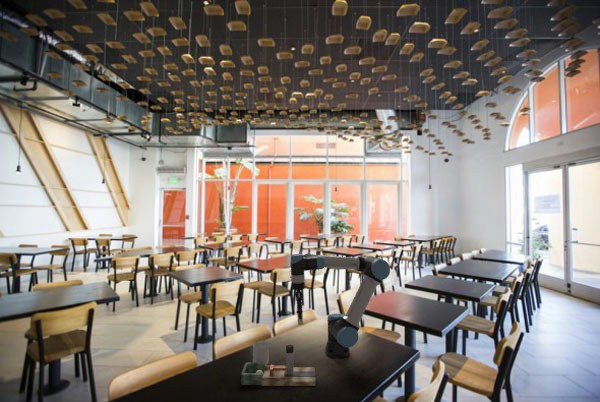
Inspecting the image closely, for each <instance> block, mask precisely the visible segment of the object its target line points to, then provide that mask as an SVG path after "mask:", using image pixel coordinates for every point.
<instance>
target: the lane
mask: <svg viewBox="0 0 600 402" xmlns="http://www.w3.org/2000/svg"><path fill="white" fill-rule="evenodd" d="M270 366H271V364H270V365H269V364H267V365H265V362H253V361H252V362H245V363H244V366H243V368H242V370H241V372H240V386H261V387H262V386H263V387H265V386H266V387H267V386H268V387H277V386H280V387H284V386H285V387H286V386H287V387H289V386H290V387H291V386H293V387H294V386H295V387H297V386H298V387H299V386H300V387H301V386H303V387H307V386H308V387H311V386H312V387H315V386H316V384H317V383H316V382H317V381H316V370H315V367H310V366H308V367H307V366H306V367H302V366H299V367H297V366H295V367H294V372H293V375H286V371H274V372H273V376H270ZM274 366H286V365H284V364H283V365H281V364H280V365H276V364H274ZM257 370H262V372H263V376H262V373H256V371H257Z"/></svg>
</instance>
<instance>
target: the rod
mask: <svg viewBox="0 0 600 402" xmlns="http://www.w3.org/2000/svg"><path fill="white" fill-rule="evenodd" d="M294 349H295V348H294V345H292V344H288V345H286V346H285V356H286V357H285V359H286V361H285V364H286V366H274V365H275V364H270V365H271V366H270V376H273V372H274V371H286V375H293V372H294Z"/></svg>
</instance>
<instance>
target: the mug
mask: <svg viewBox="0 0 600 402" xmlns="http://www.w3.org/2000/svg"><path fill="white" fill-rule="evenodd" d="M269 349H270V348H269V343H268V342H266V341H257V342H254V343H253V345H252V362H265V365H269V362H270V361H269V357H270V356H269V354H270V353H269Z"/></svg>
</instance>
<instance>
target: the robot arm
mask: <svg viewBox="0 0 600 402" xmlns="http://www.w3.org/2000/svg"><path fill="white" fill-rule="evenodd" d="M289 261H290V262H289V263H290V274H291V275H290V277H289V278H290V279H291V289H292V290H293V291H295V292H294V294H295V295H294V296H295V302H296V311H295V313H296V316H297V326H301V325H304V316H303V292H302V290H303V291H304V290H305V289H306V283H305V278H306V277H305V271H315V270H318V271H319V270H323V269H324V268H325V269H327V268H328V269H340V270H351V271H352V270H353V271H354V272H360V273H362V276H363V279H362V281H361V283H360V285H359V287H358V289H357V290H356V293H355V295H354V297H353V299H352V301H351V304H350V305H349V307H348V309H347V311H346V314H345V313H330V314H328V315H327V320H326V321H327V341H326V345H325V349H324V350H325V351H324V352H325V355H326V356H328V357H331V358H335V359H342V358H343V359H344V358H348V357H349V356H350V355H351V353H350V352H351V350H350V348H351V347H354V346H355V345H356V344H357V342H358V341H359V330H360V328H361V326H360V322H361V319H362V317H363V315H364V313H365V312H366V309H367V307H368V306H369V303H370V301H371V298H372V297H373V296H374V295H373V294H374V293H375V291H376V288H377V286H379V285H380V286H381V284H382V282H383V280H386V279H387V278H388V277H389V276H390V273H391V267H390V265H389V263H388V262H387V261H386V260H385V259H383V258H380V257H376V256H371V255H370V256H369V255H367V256H365V255H364V256H359V255H356V256H354V257H350V256H337V255H322V254H313V253H305V254H303V253H293V254H292V255H290V260H289Z"/></svg>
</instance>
